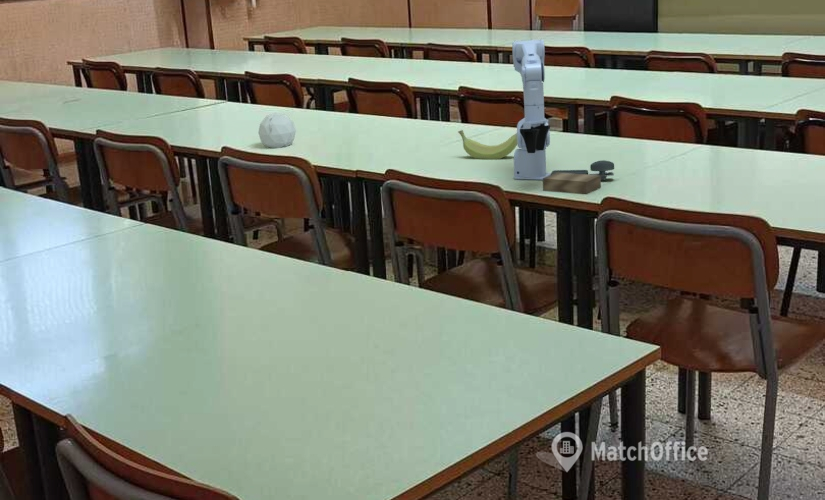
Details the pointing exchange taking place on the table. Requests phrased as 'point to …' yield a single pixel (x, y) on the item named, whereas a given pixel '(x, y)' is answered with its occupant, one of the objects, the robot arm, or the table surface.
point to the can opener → (593, 169)
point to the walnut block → (572, 183)
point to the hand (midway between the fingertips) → (535, 151)
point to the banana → (488, 148)
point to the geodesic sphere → (277, 131)
